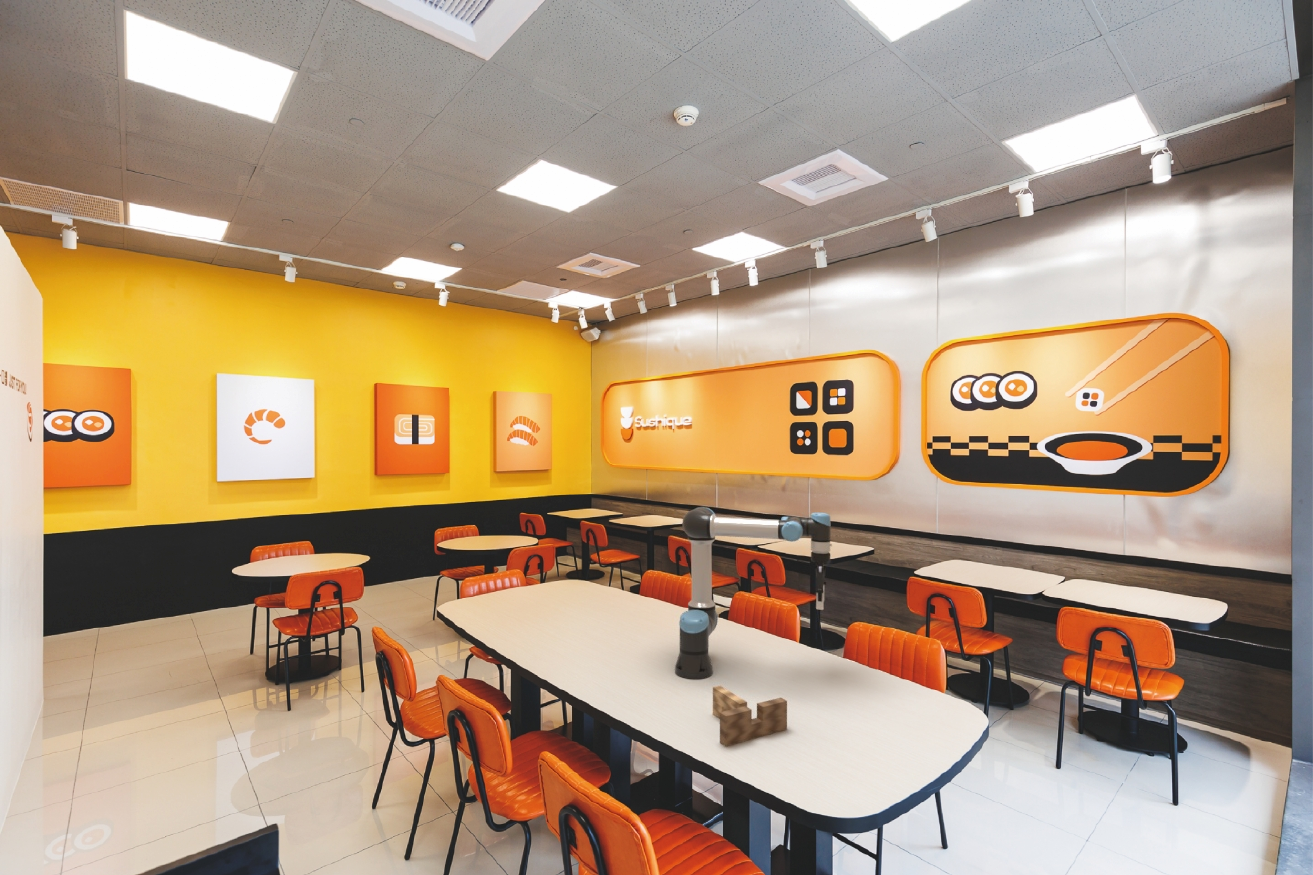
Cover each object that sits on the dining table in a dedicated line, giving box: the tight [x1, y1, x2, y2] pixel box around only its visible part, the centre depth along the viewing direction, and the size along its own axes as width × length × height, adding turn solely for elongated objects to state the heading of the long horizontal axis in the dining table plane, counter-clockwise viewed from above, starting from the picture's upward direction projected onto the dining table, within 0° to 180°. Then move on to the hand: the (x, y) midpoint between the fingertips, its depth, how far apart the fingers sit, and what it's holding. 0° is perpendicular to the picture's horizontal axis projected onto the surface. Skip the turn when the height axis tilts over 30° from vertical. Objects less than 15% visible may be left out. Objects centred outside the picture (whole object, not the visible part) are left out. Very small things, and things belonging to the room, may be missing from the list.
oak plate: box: [712, 685, 748, 720], centre depth 198 cm, size 15×3×9 cm, turn 29°
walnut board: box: [719, 697, 788, 747], centre depth 189 cm, size 24×3×9 cm, turn 119°
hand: (820, 605), depth 241 cm, fingers open, 13 cm apart
